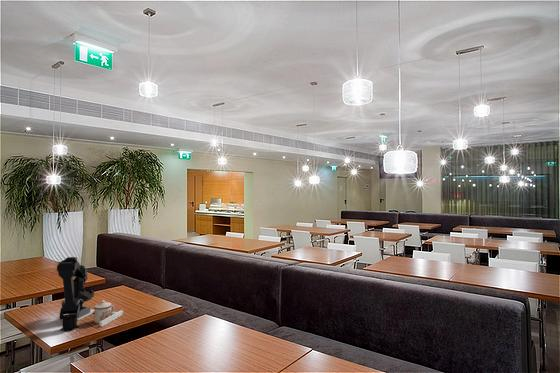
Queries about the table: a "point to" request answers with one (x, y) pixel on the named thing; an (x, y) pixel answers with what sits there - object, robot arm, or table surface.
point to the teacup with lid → (102, 311)
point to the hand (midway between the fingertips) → (78, 313)
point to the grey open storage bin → (87, 311)
